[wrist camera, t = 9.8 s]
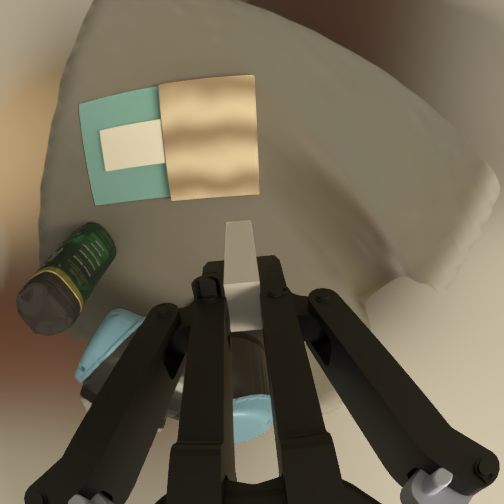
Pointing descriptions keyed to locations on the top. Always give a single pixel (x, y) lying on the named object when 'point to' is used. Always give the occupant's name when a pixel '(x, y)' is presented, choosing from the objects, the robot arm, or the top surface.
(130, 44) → the top surface
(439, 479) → the robot arm
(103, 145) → the card
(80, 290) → the coffee jar
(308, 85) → the top surface
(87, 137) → the mat
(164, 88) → the tan flat block
